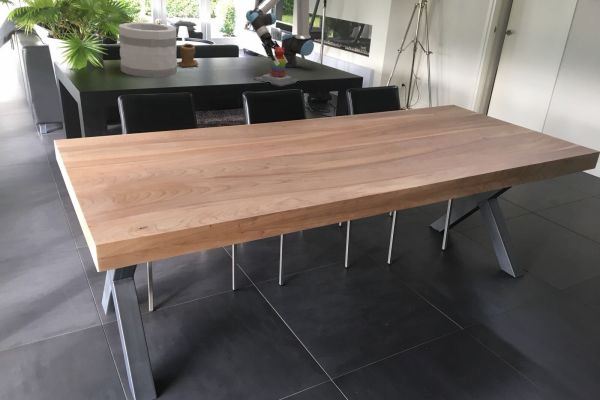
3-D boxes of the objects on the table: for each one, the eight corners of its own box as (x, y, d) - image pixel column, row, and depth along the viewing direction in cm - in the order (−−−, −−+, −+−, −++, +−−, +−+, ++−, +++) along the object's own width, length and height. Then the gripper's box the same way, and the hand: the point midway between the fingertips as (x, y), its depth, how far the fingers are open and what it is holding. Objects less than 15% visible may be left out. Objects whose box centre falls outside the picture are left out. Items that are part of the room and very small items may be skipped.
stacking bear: (286, 73, 339) (288, 46, 331) (284, 76, 330) (286, 49, 322) (270, 71, 340) (272, 44, 332) (268, 74, 331) (270, 47, 323)
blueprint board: (272, 75, 350) (273, 70, 348) (299, 81, 340) (299, 77, 339) (253, 79, 333) (254, 74, 331) (280, 86, 323) (281, 81, 321)
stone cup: (184, 68, 341) (183, 46, 334) (174, 65, 348) (174, 43, 342) (202, 67, 351) (203, 45, 344) (193, 63, 358) (193, 42, 352)
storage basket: (164, 64, 347) (163, 23, 335) (185, 76, 323) (185, 31, 311) (113, 66, 328) (110, 22, 316) (132, 78, 303) (129, 31, 291)
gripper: (270, 37, 341) (287, 65, 341) (250, 39, 324) (268, 69, 324) (277, 30, 336) (294, 59, 336) (257, 32, 319) (276, 62, 319)
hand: (282, 64), depth 330 cm, fingers closed on stacking bear, 9 cm apart
